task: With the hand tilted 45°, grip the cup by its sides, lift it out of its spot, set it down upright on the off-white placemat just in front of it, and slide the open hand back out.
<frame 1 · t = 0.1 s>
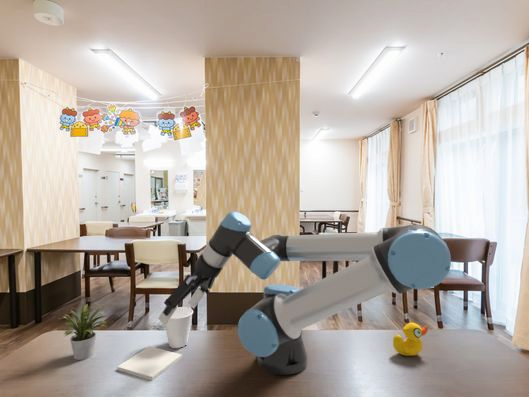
hand: (177, 312, 97), 15 cm above the table, tool tilted 35°, fingers open, 13 cm apart
house plant: (81, 358, 100), on the table
cup: (178, 345, 108), on the table
placemat: (150, 363, 97), on the table
duckling: (409, 355, 102), on the table
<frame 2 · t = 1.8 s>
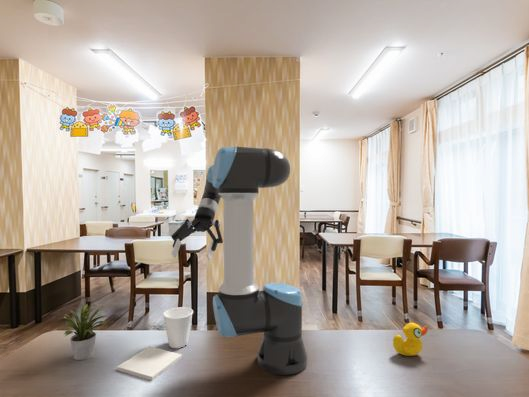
hand: (190, 256, 117), 28 cm above the table, tool tilted 45°, fingers open, 13 cm apart
nothing on the table moved.
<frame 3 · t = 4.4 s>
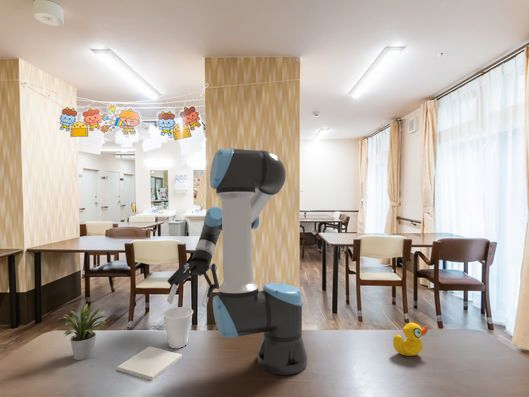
hand: (186, 303, 115), 11 cm above the table, tool tilted 45°, fingers open, 13 cm apart
nothing on the table moved.
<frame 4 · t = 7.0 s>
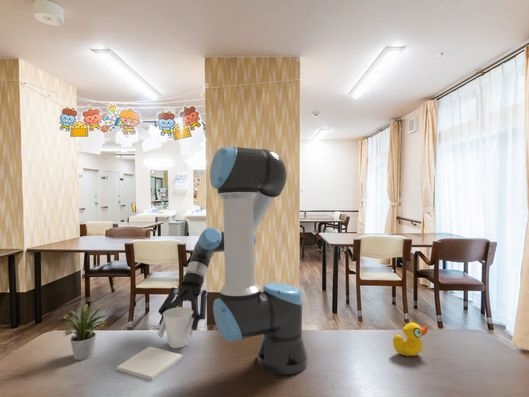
hand: (173, 337, 105), 4 cm above the table, tool tilted 45°, fingers closed on cup, 9 cm apart
cup: (178, 345, 108), on the table, touching gripper
everything else where it was.
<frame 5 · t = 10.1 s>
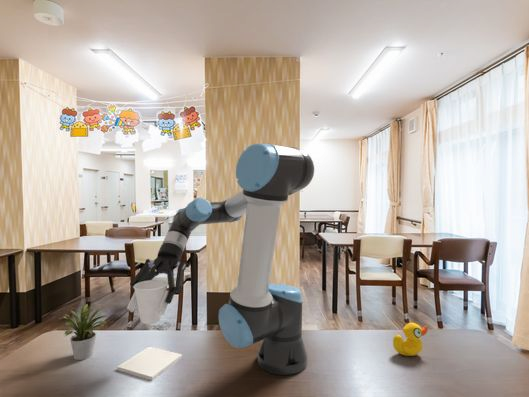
hand: (145, 311, 94), 17 cm above the table, tool tilted 45°, fingers closed on cup, 9 cm apart
cup: (151, 321, 97), point 13 cm above the table, touching gripper
everything else where it was.
when the fingers open (6 cm above the table, at t = 13.4 s): cup moves 2 cm, resting on placemat.
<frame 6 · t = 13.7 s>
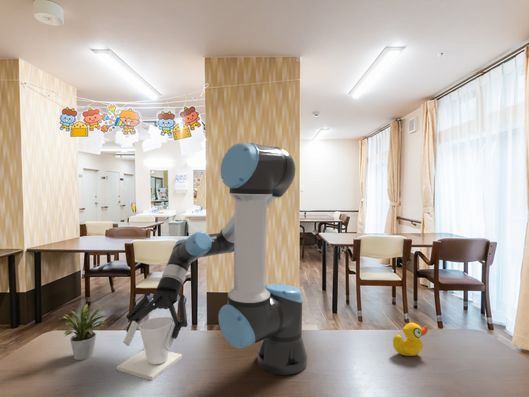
hand: (146, 346, 94), 6 cm above the table, tool tilted 45°, fingers open, 13 cm apart
cup: (158, 360, 96), point 1 cm above the table, touching placemat
everything else where it was.
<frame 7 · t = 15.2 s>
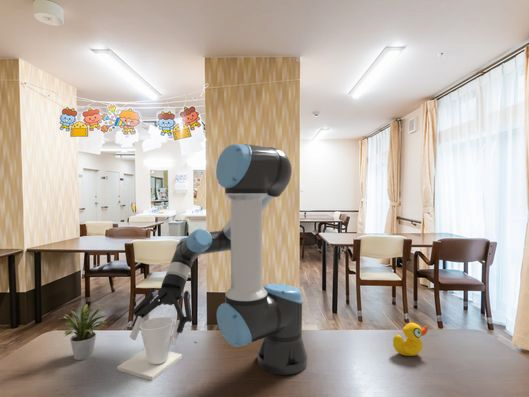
hand: (152, 340, 98), 6 cm above the table, tool tilted 45°, fingers open, 13 cm apart
nothing on the table moved.
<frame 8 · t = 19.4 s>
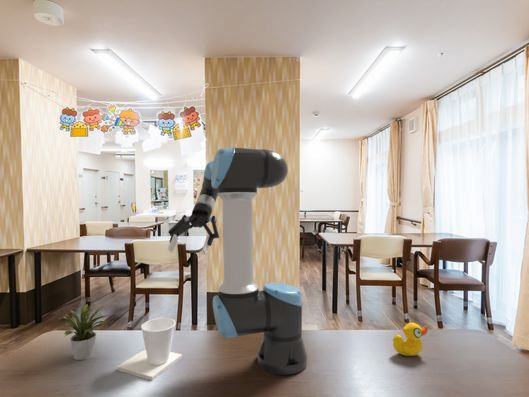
hand: (186, 251, 118), 30 cm above the table, tool tilted 45°, fingers open, 13 cm apart
at the end: cup inside the target area on the placemat (2.3 cm from its centre), point 0.8 cm above the placemat's base; cup tilted 0°; the gripper is holding nothing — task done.
